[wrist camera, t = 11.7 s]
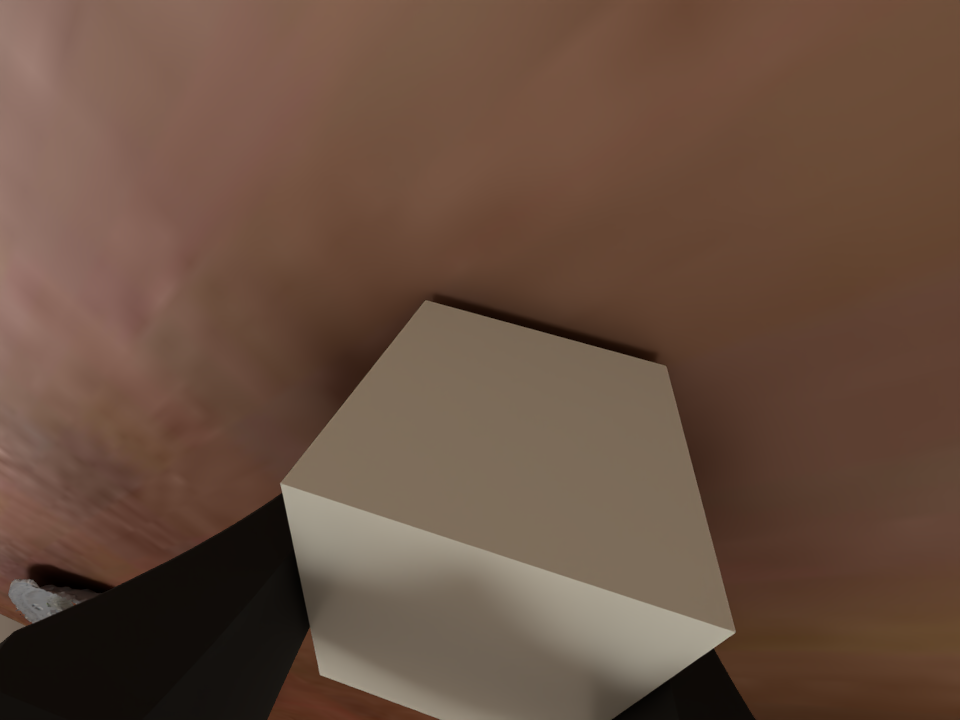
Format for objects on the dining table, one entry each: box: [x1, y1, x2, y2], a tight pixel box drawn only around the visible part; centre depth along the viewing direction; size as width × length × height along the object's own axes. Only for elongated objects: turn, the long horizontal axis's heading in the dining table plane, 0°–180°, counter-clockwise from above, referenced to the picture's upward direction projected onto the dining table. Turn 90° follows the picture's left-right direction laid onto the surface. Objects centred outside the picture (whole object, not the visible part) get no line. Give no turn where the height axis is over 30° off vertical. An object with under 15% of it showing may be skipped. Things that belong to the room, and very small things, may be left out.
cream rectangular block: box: [280, 300, 736, 720], centre depth 10 cm, size 8×6×6 cm
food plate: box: [8, 579, 101, 623], centre depth 37 cm, size 25×23×4 cm
